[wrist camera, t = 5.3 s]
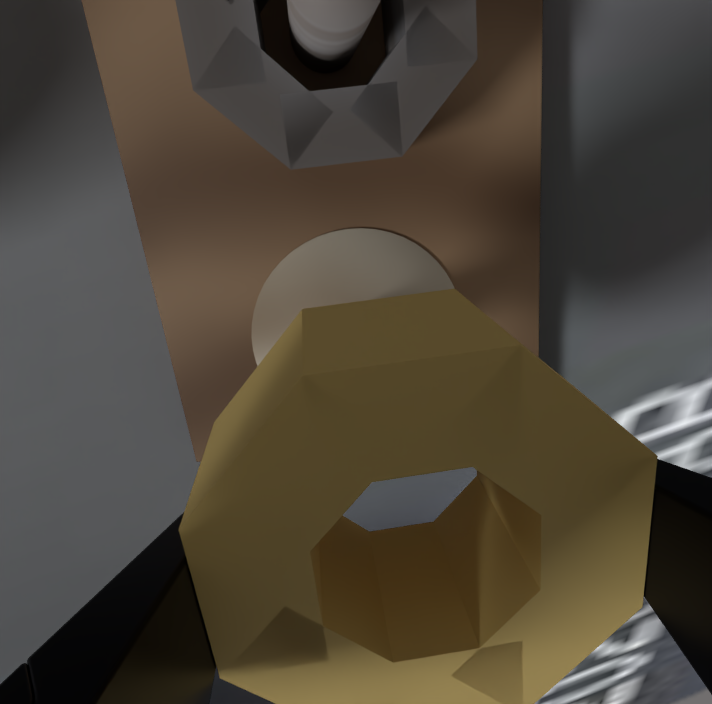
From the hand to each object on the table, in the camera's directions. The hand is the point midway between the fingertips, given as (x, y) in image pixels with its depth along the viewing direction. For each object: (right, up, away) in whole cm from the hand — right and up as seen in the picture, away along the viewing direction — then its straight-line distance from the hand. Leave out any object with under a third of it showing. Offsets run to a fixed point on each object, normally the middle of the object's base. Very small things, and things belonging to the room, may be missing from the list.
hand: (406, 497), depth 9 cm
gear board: (-1, +8, +8) cm, 11 cm away
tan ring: (0, 0, +1) cm, 1 cm away
